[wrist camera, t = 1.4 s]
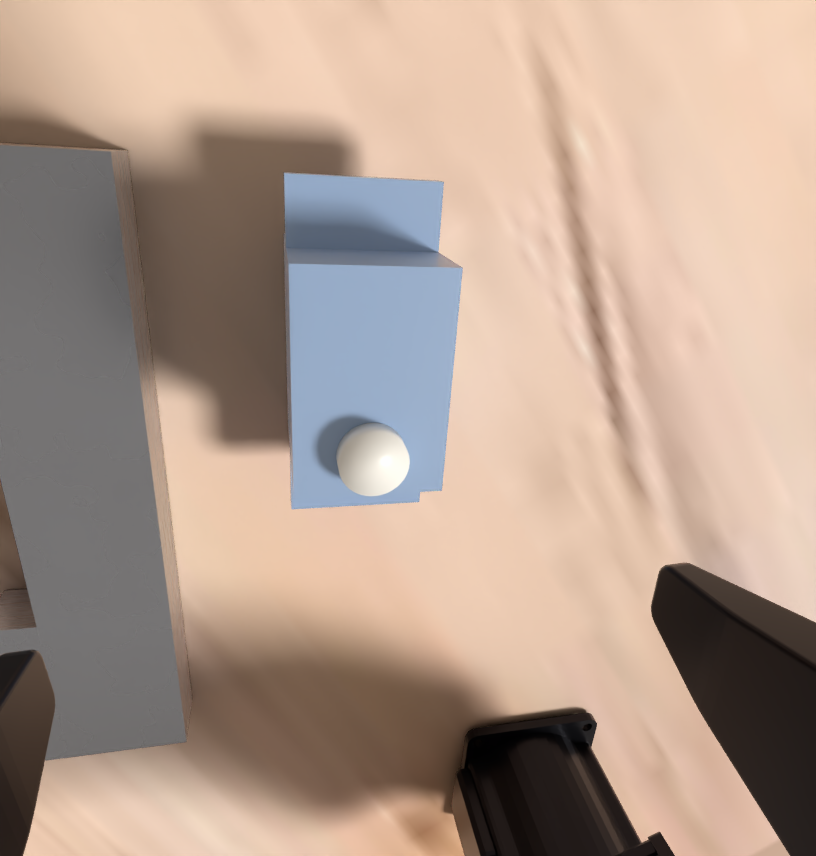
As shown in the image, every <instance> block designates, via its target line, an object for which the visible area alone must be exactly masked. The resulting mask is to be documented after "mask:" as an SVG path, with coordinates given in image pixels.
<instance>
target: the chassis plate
mask: <svg viewBox="0 0 816 856" xmlns="http://www.w3.org/2000/svg"><path fill="white" fill-rule="evenodd" d="M0 480H1V484H2V488H3V492H4V496H5V500H6V504H7V508H8V512H9V516H10V521H11V525H12V529H13V533H14V537H15V541H16V545H17V549H18V553H19V557H20V561H21V565H22V569H23V573H24V578H25V582H26V586H27V589H18V590H5V591H4V592H3V594H2V596H1V597H0V655H2V654H5V653H9V652H16V651H24V650H37V651H39V653H40V654H41V655H42V658H43V660H44V663H45V666H46V670H47V673H48V676H49V679H50V682H51V685H52V688H53V691H54V695H55V712H54V717H53V722H52V727H51V732H50V737H49V742H48V747H47V752H46V757H45V760H53V759H61V758H68V757H76V756H83V755H91V754H99V753H106V752H114V751H122V750H129V749H137V748H144V747H152V746H160V745H167V744H175V743H183V742H187V735H188V728H189V720H190V713H191V705H192V691H191V682H190V674H189V665H188V657H187V648H186V640H185V631H184V623H183V614H182V606H181V597H180V589H179V580H178V572H177V563H176V555H175V546H174V538H173V529H172V521H171V512H170V504H169V495H168V487H167V478H166V470H165V461H164V453H163V444H162V436H161V427H160V419H159V410H158V402H157V393H156V385H155V376H154V368H153V359H152V351H151V342H150V334H149V325H148V317H147V308H146V300H145V291H144V283H143V274H142V266H141V257H140V249H139V240H138V232H137V223H136V215H135V206H134V198H133V189H132V181H131V172H130V164H129V155H128V150H115V149H98V148H82V147H65V146H48V145H31V144H14V143H0Z"/></svg>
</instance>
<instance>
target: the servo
mask: <svg viewBox="0 0 816 856" xmlns="http://www.w3.org/2000/svg"><path fill="white" fill-rule="evenodd" d="M443 185H444V182H442V181H435V180H417V179H398V178H380V177H362V176H344V175H326V174H307V173H289V172H284V209H285V234H284V277H285V319H286V362H287V405H288V430H289V444H290V476H291V507H292V509H305V508H322V507H340V506H357V505H374V504H392V503H409V502H419V498H420V492H424V491H442V483H443V472H444V461H445V451H446V440H447V429H448V419H449V408H450V397H451V386H452V376H453V365H454V354H455V344H456V333H457V322H458V312H459V301H460V290H461V279H462V269H463V268H462V267H460V266H459V265H457V264H456V263H454V262H453V261H451V260H450V259H448V258H446V257H445V256H443V255H442V254H440V253H439V252H438V250H439V237H440V224H441V211H442V198H443Z"/></svg>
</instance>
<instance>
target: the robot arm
mask: <svg viewBox="0 0 816 856" xmlns="http://www.w3.org/2000/svg"><path fill="white" fill-rule="evenodd" d="M651 612H652V617H653V620H654V623H655V625H656V627H657V629H658V631H659V633H660V635H661V637H662V639H663V641H664V643H665V645H666V647H667V649H668V651H669V653H670V655H671V657H672V659H673V661H674V663H675V665H676V666H677V668H678V670H679V672H680V674H681V676H682V678H683V680H684V682H685V684H686V686H687V688H688V690H689V692H690V694H691V696H692V698H693V700H694V702H695V704H696V705H697V707H698V709H699V711H700V712H701V714H702V716H703V717H704V719H705V721H706V723H707V724H708V726H709V727H710V729H711V731H712V732H713V734H714V735H715V737H716V739H717V740H718V742H719V743H720V745H721V746H722V748H723V750H724V751H725V753H726V754H727V756H728V758H729V759H730V761H731V762H732V764H733V766H734V767H735V769H736V770H737V772H738V774H739V775H740V777H741V778H742V780H743V781H744V783H745V785H746V786H747V788H748V789H749V791H750V793H751V794H752V796H753V797H754V799H755V801H756V802H757V804H758V805H759V807H760V809H761V810H762V812H763V813H764V815H765V816H766V818H767V820H768V821H769V823H770V824H771V826H772V828H773V829H774V831H775V832H776V834H777V836H778V837H779V839H780V840H781V842H782V843H783V845H784V847H785V848H786V850H787V851H788V853H789V855H790V856H816V623H815V622H813V621H811V620H809V619H807V618H805V617H803V616H801V615H798V614H796V613H794V612H792V611H790V610H788V609H786V608H784V607H781V606H779V605H777V604H775V603H773V602H771V601H769V600H767V599H764V598H762V597H760V596H758V595H756V594H754V593H752V592H750V591H747V590H745V589H743V588H741V587H739V586H737V585H735V584H733V583H730V582H728V581H726V580H724V579H722V578H720V577H718V576H716V575H713V574H711V573H709V572H707V571H705V570H703V569H701V568H699V567H696V566H694V565H692V564H690V563H678V564H670V565H665V566H663V567H662V568H661V570H660V571H659V574H658V578H657V582H656V587H655V591H654V595H653V600H652V604H651ZM54 712H55V695H54V691H53V688H52V685H51V682H50V679H49V676H48V673H47V670H46V666H45V663H44V660H43V658H42V655H41V654H40V653H39V651H37V650H24V651H16V652H9V653H5V654H2V655H0V856H23V854H24V850H25V847H26V843H27V840H28V837H29V833H30V829H31V824H32V820H33V816H34V811H35V806H36V801H37V796H38V791H39V786H40V781H41V777H42V772H43V767H44V762H45V757H46V752H47V747H48V742H49V737H50V732H51V727H52V722H53V717H54ZM596 727H597V723H596V721H595V719H594V718H593V716H592V714H590V713H582V714H575V715H568V716H560V717H553V718H546V719H539V720H532V721H525V722H518V723H510V724H503V725H496V726H489V727H482V728H476V729H472V730H471V731H469V732H468V733H467V734H466V736H465V741H464V749H463V756H462V763H461V768H460V769H459V770H458V771H457V773H456V775H455V783H454V790H453V797H452V805H451V807H452V811H453V815H454V819H455V822H456V826H457V830H458V833H459V837H460V840H461V844H462V848H463V851H464V855H465V856H675V855H674V854H673V852H672V851H671V849H670V847H669V846H668V844H667V842H666V841H665V839H664V838H663V836H662V834H661V833H660V832H657V833H655V834H653V835H651V836H649V837H648V839H649V840H647V841H645V842H643V843H641V841H640V839H639V837H638V835H637V833H636V831H635V829H634V827H633V826H632V824H631V822H630V820H629V818H628V816H627V814H626V812H625V811H624V809H623V807H622V805H621V803H620V801H619V799H618V797H617V796H616V794H615V792H614V790H613V788H612V786H611V784H610V782H609V781H608V779H607V777H606V775H605V773H604V771H603V769H602V767H601V765H600V764H599V762H598V760H597V758H596V756H595V754H594V752H593V750H592V749H591V746H592V742H593V738H594V734H595V731H596Z"/></svg>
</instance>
